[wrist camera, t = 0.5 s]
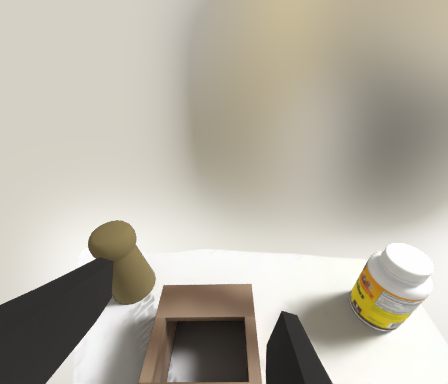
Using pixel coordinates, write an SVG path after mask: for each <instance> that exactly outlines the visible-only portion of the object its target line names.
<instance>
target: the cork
mask: <svg viewBox="0 0 448 384" xmlns="http://www.w3.org/2000/svg"><path fill="white" fill-rule="evenodd" d="M88 248H89V251H90V252H91V254H92V256H93V257H94V258H96V259H97V258H100V257H102V258H105V259H108V260H112V261H114V266H113V283H112V295H113V297H114V299H115V301H117V302H118V303H120V304H125V305H128V304H134V303H136V302H138V301H141V300H142V299H143V298H145V297H146V296H147V295H148V294H149V293H150V292H151V290H152V289H153V287H154V285H155V279H156V277H155V274H154V272H153V270H152V269H151V267H150V266H149V264H148V263H147V261H146V260H145V258H144V257H143V255H142V253H141V252H140V250H139V249H138V247H137V246H136V234H135V231H134V229H133V228H132V227H131V225H130V224H128V223H126V222H124V221H118V220H117V221H111V222H107V223H105V224H103V225H101V226H99V227H98V228H97V229H95V230H94V231H93V232H92V233H91V236H90V237H89V241H88Z"/></svg>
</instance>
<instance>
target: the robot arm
mask: <svg viewBox="0 0 448 384" xmlns="http://www.w3.org/2000/svg"><path fill="white" fill-rule="evenodd" d="M113 266H114V261H112V260H108V259H105V258H102V257H100V258H97V259H95V260H93V261H91V262H89V263H87V264H85V265H83V266H81V267H79V268H77V269H75V270H74V271H71V272H69V273H67V274H66V275H64V276H61V277H59V278H57V279H55V280H53V281H51V282H49V283H47V284H45V285H43V286H41V287H39V288H37V289H35V290H33V291H30V292H28V293H26V294H24V295H21V296H19V297H17V298H15V299H12V300H10V301H8V302H6V303H4V304H1V305H0V384H46V382H47V381H48V380H49V379H50V377H51V376H52V375H53V374H54V373H55V371H56V370H57V369H58V368H59V366H60V365H61V364H62V363H63V362H64V360H65V359H66V358H67V357H68V355H69V354H70V353H71V352H72V351H73V349H74V348H75V347H76V346H77V344H78V343H79V342H80V341H81V340H82V338H83V337H84V336H85V335H86V333H87V332H88V331H89V330H90V328H91V327H92V326H93V325H94V323H95V322H96V321H97V319H98V318H99V316H100V315H101V313H102V312H103V310H104V309H105V307H106V305H107V304H108V302H109V301H110V299H111V298H112V283H113ZM266 384H332V382H331V380H330V378H329V376H328V374H327V373H326V371H325V369H324V367H323V365H322V363H321V361H320V360H319V358H318V356H317V354H316V352H315V350H314V348H313V346H312V344H311V342H310V340H309V338H308V336H307V334H306V332H305V330H304V328H303V326H302V324H301V322H300V320H299V318H298V317H297V315H294V314H291V313H287V312H284V311H281V314H280V316H279V318H278V321H277V323H276V325H275V327H274V330H273V332H272V334H271V336H270V339H269V341H268V343H267V350H266Z"/></svg>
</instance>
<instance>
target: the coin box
mask: <svg viewBox="0 0 448 384" xmlns="http://www.w3.org/2000/svg"><path fill="white" fill-rule="evenodd" d="M177 321H244V324H245V339H246V354H247V369H248V382H167V377H168V371H169V366H170V360H171V354H172V349H173V343H174V337H175V331H176V326H177ZM138 384H262V379H261V370H260V360H259V351H258V341H257V332H256V322H255V313H254V303H253V294H252V284H218V285H164V286H163V290H162V294H161V297H160V301H159V305H158V309H157V313H156V317H155V321H154V325H153V329H152V332H151V336H150V340H149V344H148V348H147V352H146V356H145V360H144V364H143V367H142V371H141V375H140V379H139V383H138Z"/></svg>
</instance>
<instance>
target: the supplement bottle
mask: <svg viewBox="0 0 448 384" xmlns="http://www.w3.org/2000/svg"><path fill="white" fill-rule="evenodd" d="M433 271H434V265H433V263H432V261H431V260H430V259H429V257H428V256H426V255H425V254H424V253H423V252H421V251H420V250H418V249H416V248H414V247H412V246H410V245H406V244H402V243H392V244H389V245H388V246H387V247H386V248H385V250H384V251H379V252H376V253H374V254H373V255H371V257H370V258H369V260H368V261H367V263H366V265H365V267H364V269H363V271H362V272H361V274H360V276H359V278H358V280H357V282H356V284H355V285H354V287H353V289H352V291H351V293H350V304H351V307H352V309H353V311H354V312H355V314H356V315H357V316H358V317H359V318H360V319H361V320H362V321H363V322H364V323H366V324H367V325H369V326H370V327H372V328H374V329H377V330H381V331H392V330H395V329H397V328H398V327H399V326H400V325H401V324H402V323H403V322H404V321H405V320H406V319H407V318H408V317H409V316H410V315H411V313H412V312H413V311H414V310H415V309H416V308H417V307H418V306H419V305H420V304H421V303H422V302H423V301H424V300H425V299H426V297H427V296H428V295H429V294H430V293H431V291H432V281H431V278H430V275H431V274H432V273H433Z"/></svg>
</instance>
